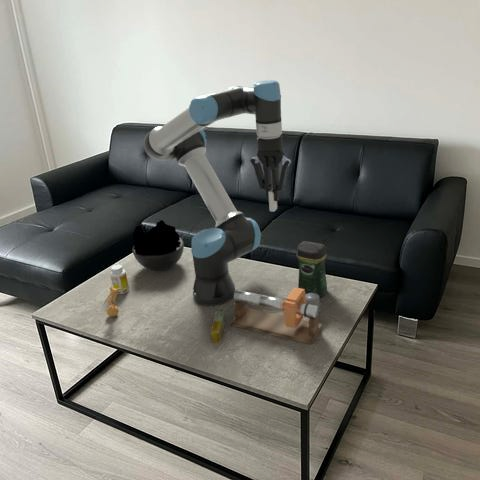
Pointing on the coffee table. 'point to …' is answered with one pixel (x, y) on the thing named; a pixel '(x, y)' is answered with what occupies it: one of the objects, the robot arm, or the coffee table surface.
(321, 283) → the coffee jar
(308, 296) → the gray egg
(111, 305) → the figurine
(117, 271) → the supplement bottle
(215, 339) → the medication box
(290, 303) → the ring
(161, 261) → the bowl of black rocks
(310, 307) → the pipe
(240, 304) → the stand
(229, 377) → the coffee table surface
